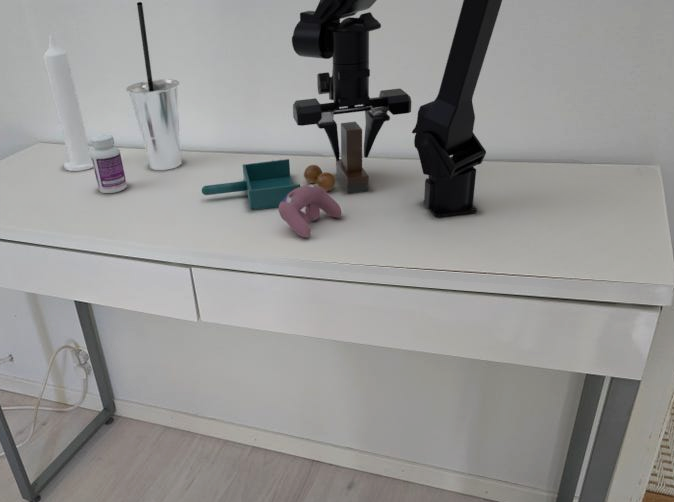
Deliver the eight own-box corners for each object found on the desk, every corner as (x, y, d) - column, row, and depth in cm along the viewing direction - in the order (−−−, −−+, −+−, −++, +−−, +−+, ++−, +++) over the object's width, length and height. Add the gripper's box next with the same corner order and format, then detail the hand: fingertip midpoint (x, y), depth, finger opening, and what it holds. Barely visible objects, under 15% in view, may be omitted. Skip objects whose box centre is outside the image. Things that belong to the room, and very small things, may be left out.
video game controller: (324, 221, 108) (307, 181, 106) (345, 214, 104) (328, 172, 102) (288, 245, 102) (268, 202, 100) (309, 238, 98) (289, 193, 96)
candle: (63, 163, 141) (30, 35, 127) (96, 157, 143) (67, 29, 129) (66, 173, 136) (31, 39, 122) (100, 167, 137) (70, 34, 123)
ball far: (320, 178, 120) (320, 161, 118) (324, 184, 117) (323, 167, 115) (303, 181, 120) (302, 163, 118) (306, 187, 117) (305, 169, 115)
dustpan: (289, 176, 122) (288, 158, 120) (301, 204, 111) (300, 185, 109) (201, 187, 122) (199, 169, 120) (204, 216, 110) (201, 196, 108)
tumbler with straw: (168, 178, 128) (139, 2, 111) (128, 170, 134) (94, 3, 117) (205, 161, 134) (182, -7, 118) (165, 154, 140) (138, -7, 124)
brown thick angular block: (355, 172, 121) (355, 117, 116) (368, 191, 113) (369, 133, 107) (336, 174, 121) (334, 119, 115) (347, 194, 113) (346, 135, 107)
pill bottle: (133, 185, 126) (122, 134, 121) (113, 195, 122) (102, 142, 117) (112, 182, 129) (101, 131, 123) (93, 191, 125) (80, 140, 120)
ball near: (333, 186, 116) (332, 168, 114) (337, 193, 114) (336, 174, 112) (315, 188, 116) (314, 170, 114) (318, 195, 113) (317, 176, 112)
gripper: (395, 46, 113) (392, 139, 121) (285, 58, 112) (291, 151, 121) (414, 57, 103) (410, 157, 112) (295, 71, 103) (300, 170, 112)
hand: (351, 158), depth 114 cm, fingers open, 5 cm apart
